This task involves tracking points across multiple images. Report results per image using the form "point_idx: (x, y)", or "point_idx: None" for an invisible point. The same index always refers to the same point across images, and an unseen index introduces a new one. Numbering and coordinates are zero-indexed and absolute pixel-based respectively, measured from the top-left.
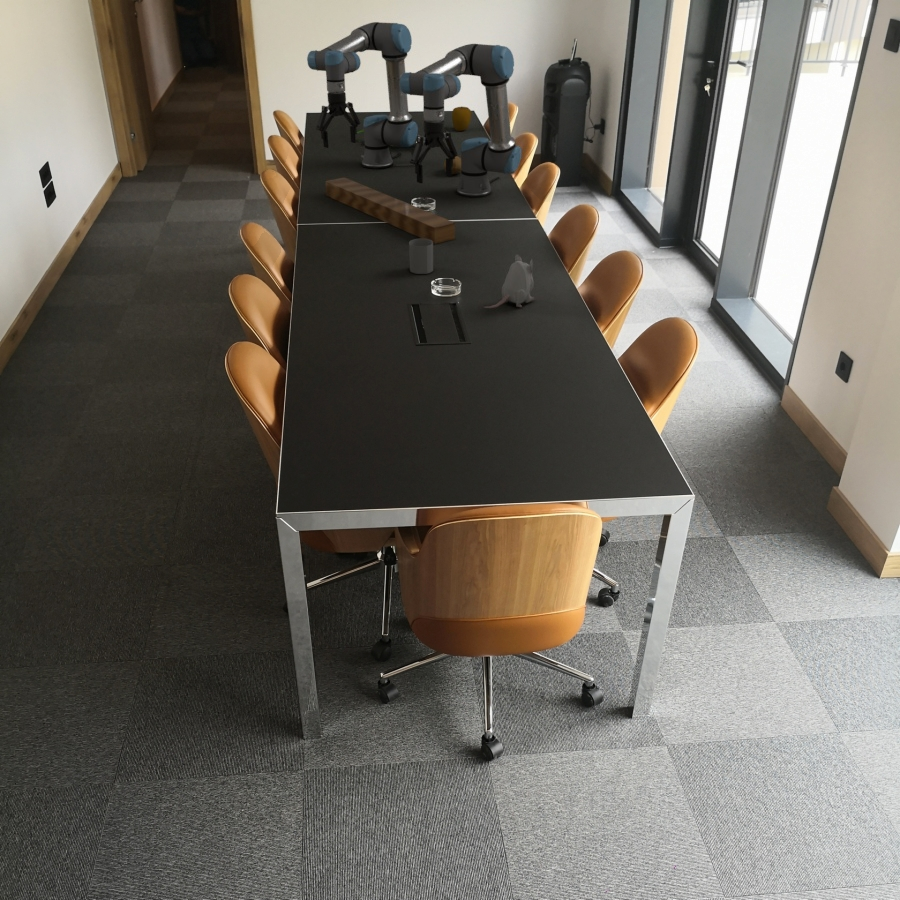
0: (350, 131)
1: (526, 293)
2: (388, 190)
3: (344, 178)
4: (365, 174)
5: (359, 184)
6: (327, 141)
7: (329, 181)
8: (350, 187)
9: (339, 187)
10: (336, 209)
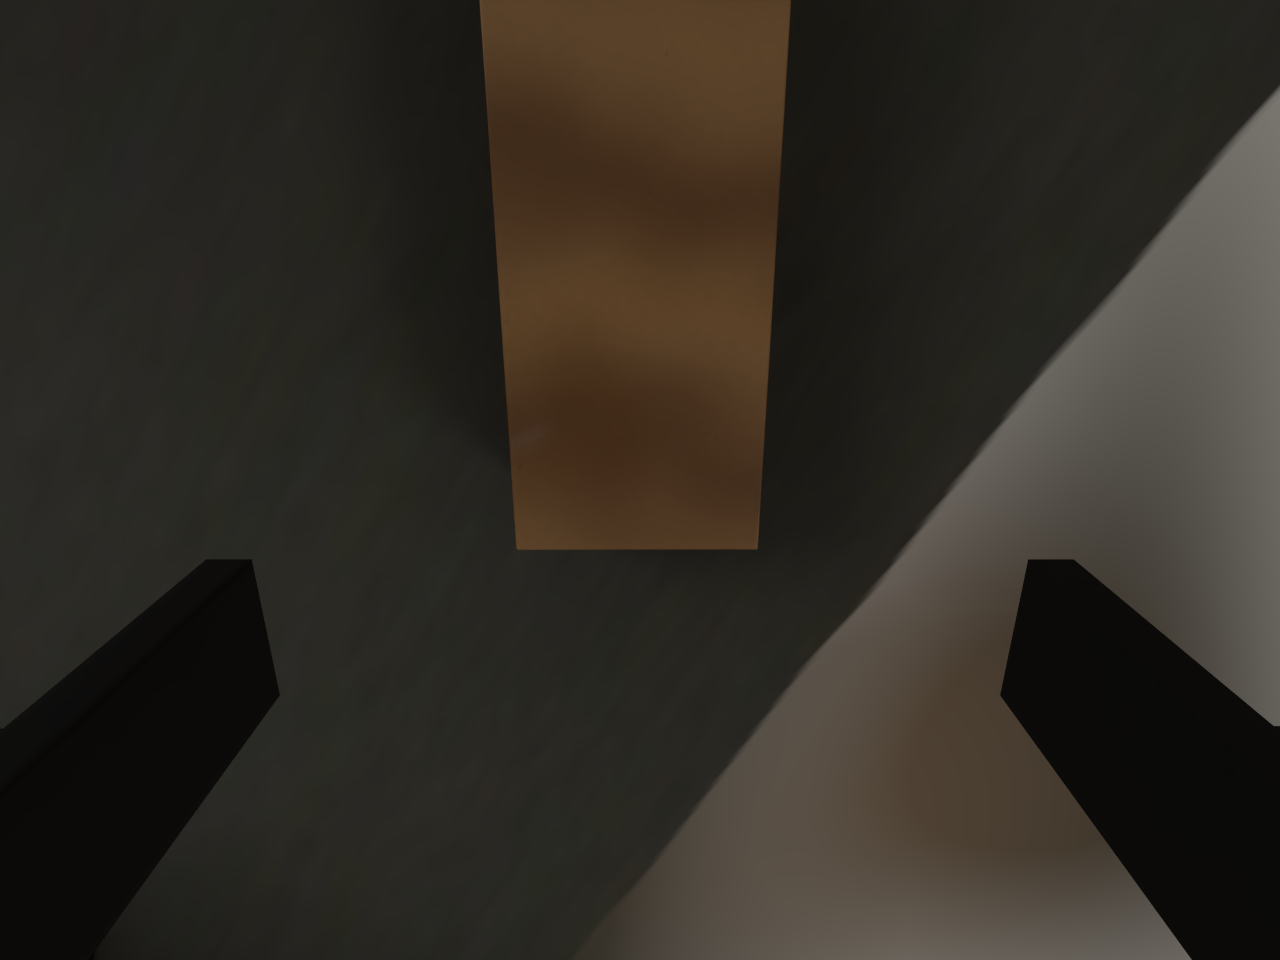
0: (114, 912)
1: None
2: (143, 284)
3: (537, 514)
4: None
5: (514, 188)
6: (1142, 646)
7: (732, 513)
8: (679, 138)
9: (775, 245)
10: (934, 26)
